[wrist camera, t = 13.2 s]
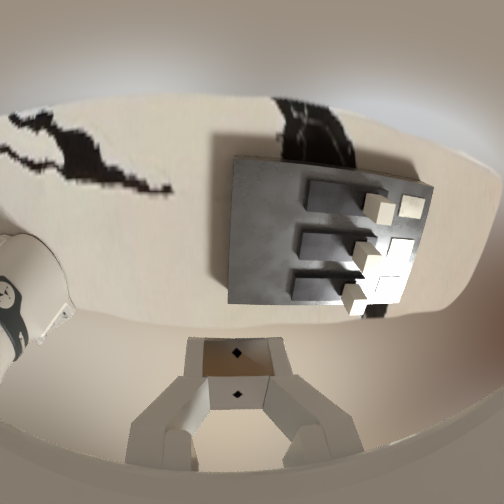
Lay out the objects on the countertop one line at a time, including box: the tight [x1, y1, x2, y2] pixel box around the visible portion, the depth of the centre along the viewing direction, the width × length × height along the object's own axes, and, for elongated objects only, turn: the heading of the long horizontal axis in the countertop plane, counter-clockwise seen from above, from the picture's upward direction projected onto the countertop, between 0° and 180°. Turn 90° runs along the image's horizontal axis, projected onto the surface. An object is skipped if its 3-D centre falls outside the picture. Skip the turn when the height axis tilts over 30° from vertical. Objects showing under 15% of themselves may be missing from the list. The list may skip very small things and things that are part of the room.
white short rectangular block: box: [341, 284, 368, 315], centre depth 30 cm, size 2×2×3 cm
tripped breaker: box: [363, 193, 396, 226], centre depth 25 cm, size 2×2×3 cm
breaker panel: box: [228, 155, 434, 305], centre depth 31 cm, size 24×17×4 cm
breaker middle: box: [352, 241, 382, 274], centre depth 27 cm, size 2×2×3 cm
